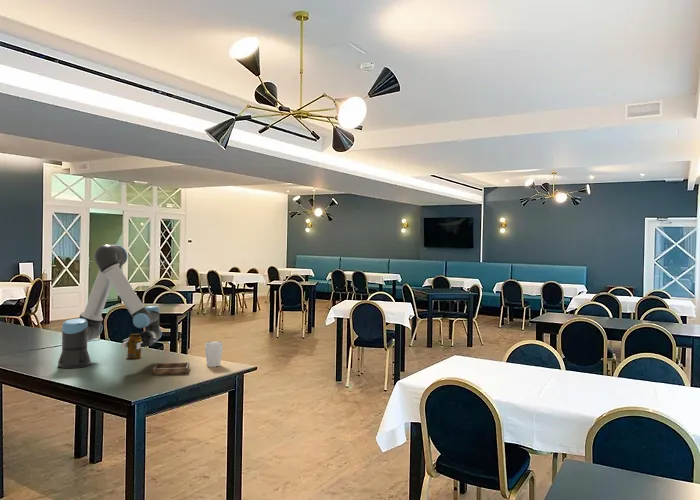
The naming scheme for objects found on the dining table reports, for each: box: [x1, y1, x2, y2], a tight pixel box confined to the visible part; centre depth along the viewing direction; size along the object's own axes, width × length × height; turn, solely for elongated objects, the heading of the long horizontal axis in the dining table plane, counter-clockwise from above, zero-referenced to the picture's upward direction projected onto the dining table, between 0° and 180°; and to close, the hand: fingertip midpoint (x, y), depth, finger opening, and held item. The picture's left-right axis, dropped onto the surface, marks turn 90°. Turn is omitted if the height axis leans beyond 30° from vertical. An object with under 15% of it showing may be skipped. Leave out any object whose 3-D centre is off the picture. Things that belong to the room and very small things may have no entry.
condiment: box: [125, 332, 143, 361], centre depth 270 cm, size 7×8×12 cm
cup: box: [204, 340, 224, 368], centre depth 289 cm, size 9×9×12 cm
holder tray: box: [152, 362, 190, 376], centre depth 274 cm, size 16×13×3 cm
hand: (130, 346), depth 265 cm, fingers closed on condiment, 6 cm apart
